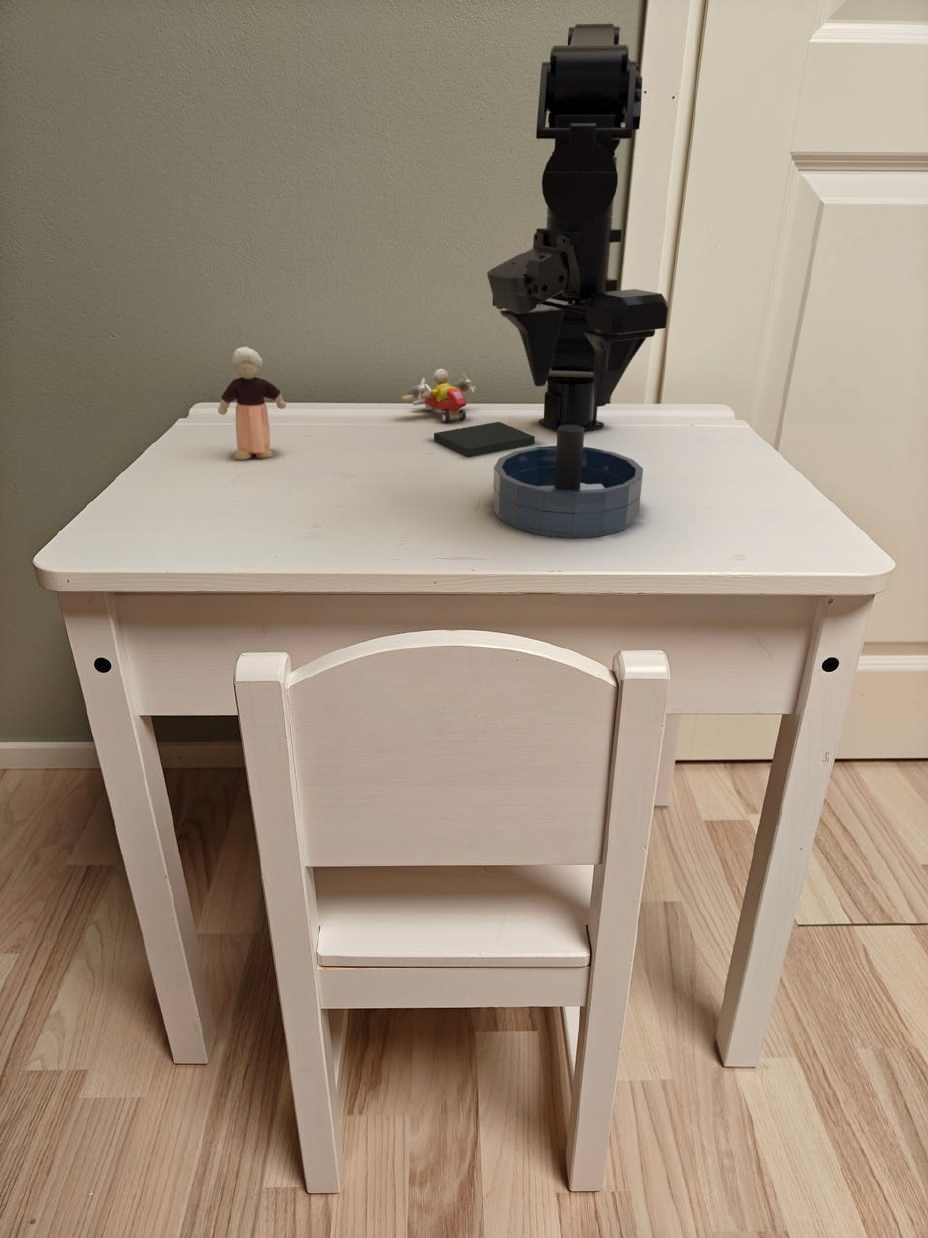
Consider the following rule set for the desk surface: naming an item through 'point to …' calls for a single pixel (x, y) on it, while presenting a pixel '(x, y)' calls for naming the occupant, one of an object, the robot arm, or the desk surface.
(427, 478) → the desk surface
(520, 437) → the mat
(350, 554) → the desk surface
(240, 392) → the grandmother figurine
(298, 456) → the desk surface
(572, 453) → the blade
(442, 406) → the toy airplane
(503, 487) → the bowl
